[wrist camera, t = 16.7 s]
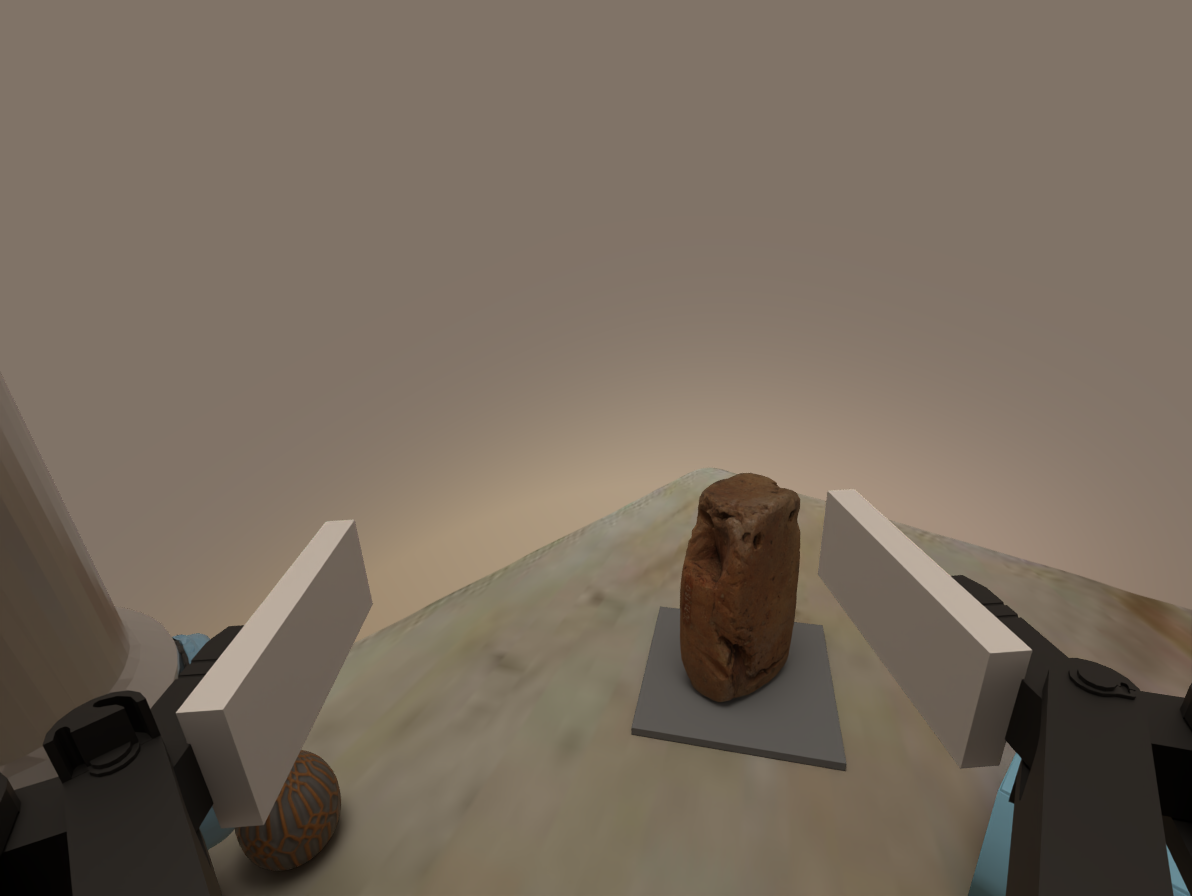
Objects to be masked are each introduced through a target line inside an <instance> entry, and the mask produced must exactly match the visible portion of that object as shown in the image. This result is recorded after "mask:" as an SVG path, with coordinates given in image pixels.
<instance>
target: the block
mask: <svg viewBox="0 0 1192 896" xmlns="http://www.w3.org/2000/svg"><path fill="white" fill-rule="evenodd" d="M799 509H800V498H799V497H798V495H797V493H796V492H794V491H792V490H789V489H785V488H780V487H778V485H777V483H776V482H775V481H773V480H772V479H770V478H768V477H765V476H761V475H757V474H752V473H741V474H737V475H735V476H733V477H731V478H728V479H723V480H720V481H717V482H715V483H713V484H712V485H710V486H709V487H708V488H706V489H705V490H704V491H703V492H702V494H701V496H700V500H699V506H698V517H697V523H696V526H695V527H694V529H693V530H692V537H691V539H690V540H689V543H688V548H687V551H686V556H685V560H684V565H683V571H682V578H681V589H680V649H681V658H682V662H683V665H684V668H685V670H686V672H687V675H688V677H689V678H690V682H691V684H692V686H693V687H694V688H695V689H696V690H697V691H698V692H700V693H701V694H702V695H704V696H706V697H708V698H710V699H712V700H714V701H717V702H724V701H729V700H731V699H733V698H737V697H740V696H744V695H748V694H750V693H752V692H754V691H755V690H757V689H758V688H760V687H762V686H763V685H765V684H767V683H768V682H769V681H770V680H772V679H773V678H774V677H775V676H776V675H777V674H778V672H779V671H780V670H781V668H782V667H783V666H784V665H785V663H786V661H787V659H788V655H789V649H790V644H791V638H792V631H793V626H794V618H795V609H796V593H797V584H798V574H799V564H800V563H799V560H800V551H799V549H800V529H799V526H798V523H797V517H798V512H799Z"/></svg>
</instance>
